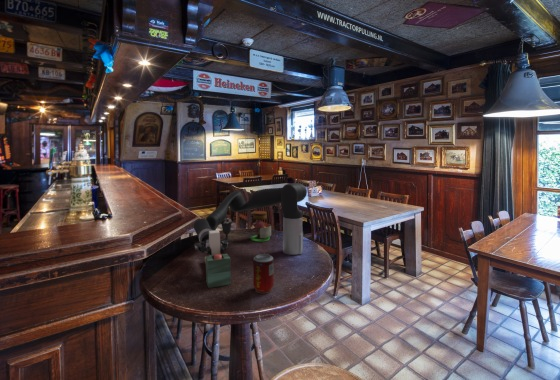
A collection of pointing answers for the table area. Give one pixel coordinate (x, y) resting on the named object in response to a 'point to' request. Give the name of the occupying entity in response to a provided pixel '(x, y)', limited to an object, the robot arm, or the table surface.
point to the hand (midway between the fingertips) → (216, 251)
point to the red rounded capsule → (217, 256)
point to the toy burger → (261, 227)
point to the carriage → (214, 242)
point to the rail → (218, 271)
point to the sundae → (226, 227)
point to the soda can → (263, 273)
